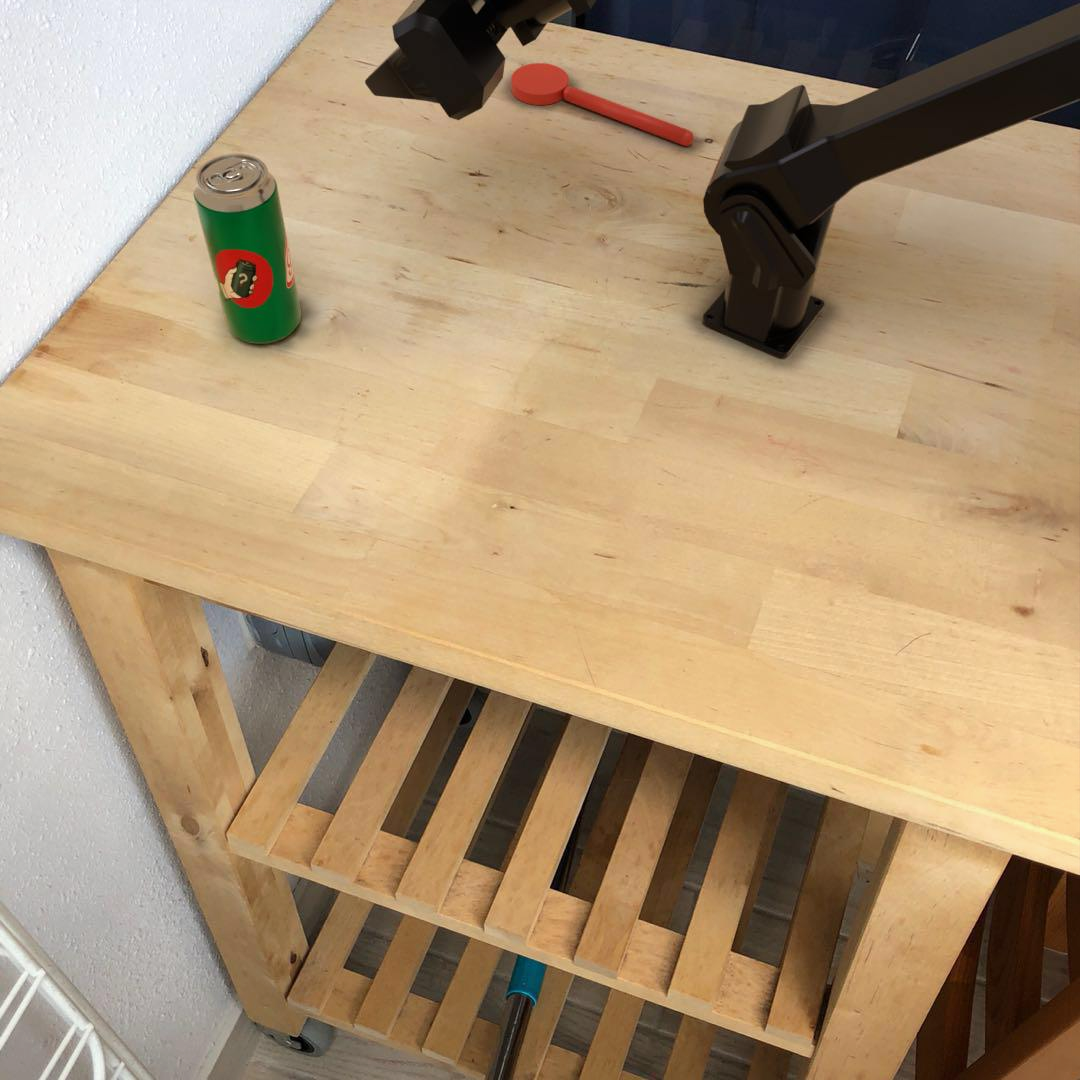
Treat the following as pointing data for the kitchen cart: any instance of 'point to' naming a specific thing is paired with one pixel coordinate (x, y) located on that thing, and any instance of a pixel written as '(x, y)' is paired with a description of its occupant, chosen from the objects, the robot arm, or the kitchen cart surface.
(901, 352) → the kitchen cart surface
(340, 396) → the kitchen cart surface
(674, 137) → the spoon
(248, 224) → the soda can
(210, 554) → the kitchen cart surface
